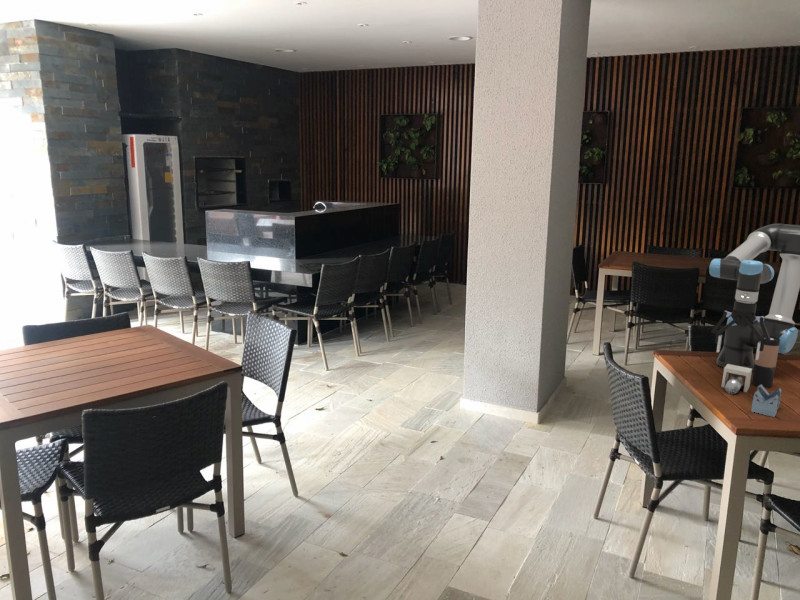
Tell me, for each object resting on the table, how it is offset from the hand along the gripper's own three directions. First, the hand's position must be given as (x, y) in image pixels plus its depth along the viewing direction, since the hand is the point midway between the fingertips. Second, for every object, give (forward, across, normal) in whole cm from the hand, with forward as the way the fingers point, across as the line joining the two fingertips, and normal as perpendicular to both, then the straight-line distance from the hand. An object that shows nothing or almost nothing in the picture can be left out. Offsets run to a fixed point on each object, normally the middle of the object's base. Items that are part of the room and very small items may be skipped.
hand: (737, 355), depth 248 cm
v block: (+15, +13, -12) cm, 23 cm away
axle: (+15, 0, +4) cm, 16 cm away
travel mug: (+15, +8, +19) cm, 26 cm away
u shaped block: (+15, 0, +8) cm, 17 cm away
